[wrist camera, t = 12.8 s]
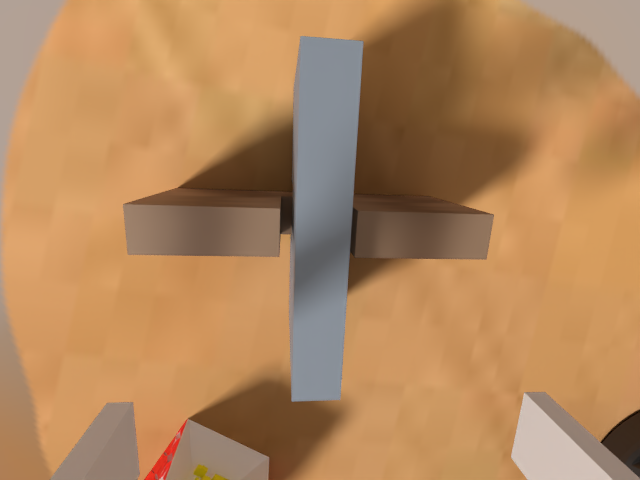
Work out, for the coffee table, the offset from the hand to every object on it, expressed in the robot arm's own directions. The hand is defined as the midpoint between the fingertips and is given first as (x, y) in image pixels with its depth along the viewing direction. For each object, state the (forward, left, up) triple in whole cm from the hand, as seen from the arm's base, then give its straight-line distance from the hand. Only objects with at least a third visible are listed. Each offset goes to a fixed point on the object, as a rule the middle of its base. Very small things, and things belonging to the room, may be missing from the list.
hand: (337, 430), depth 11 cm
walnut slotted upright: (0, -5, -15) cm, 16 cm away
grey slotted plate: (0, -5, -15) cm, 16 cm away
